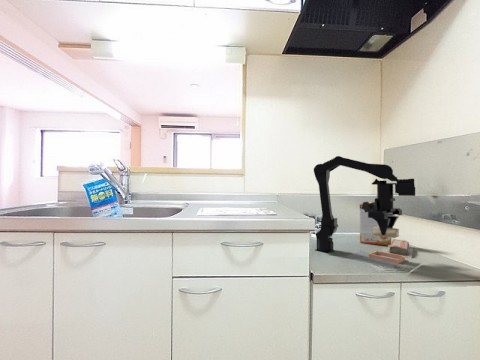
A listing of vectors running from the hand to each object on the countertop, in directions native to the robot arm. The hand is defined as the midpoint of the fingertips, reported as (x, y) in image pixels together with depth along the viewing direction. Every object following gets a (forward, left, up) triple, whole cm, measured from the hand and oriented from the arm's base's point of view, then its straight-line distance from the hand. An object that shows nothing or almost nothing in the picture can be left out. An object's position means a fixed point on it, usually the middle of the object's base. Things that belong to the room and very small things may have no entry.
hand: (385, 234), depth 107 cm
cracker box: (-14, +26, -11) cm, 31 cm away
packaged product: (0, +16, -11) cm, 19 cm away
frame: (0, 0, -10) cm, 10 cm away
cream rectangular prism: (0, 0, -1) cm, 1 cm away
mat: (-3, -3, -10) cm, 11 cm away
